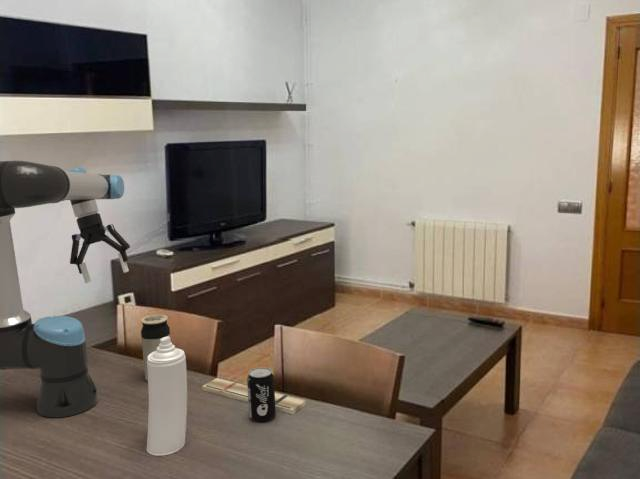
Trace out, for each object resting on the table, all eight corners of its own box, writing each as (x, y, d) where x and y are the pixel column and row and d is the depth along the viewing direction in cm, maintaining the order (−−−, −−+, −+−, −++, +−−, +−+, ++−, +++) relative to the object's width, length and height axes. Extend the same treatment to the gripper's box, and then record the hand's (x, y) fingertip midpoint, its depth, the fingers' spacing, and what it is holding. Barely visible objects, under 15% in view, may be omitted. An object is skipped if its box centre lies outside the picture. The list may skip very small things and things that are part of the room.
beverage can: (281, 416, 154) (279, 370, 152) (261, 426, 149) (259, 379, 147) (263, 408, 159) (261, 364, 156) (243, 417, 154) (241, 372, 151)
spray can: (143, 434, 147) (134, 335, 142) (188, 425, 151) (180, 328, 146) (148, 459, 136) (138, 352, 131) (196, 448, 140) (188, 344, 135)
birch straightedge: (292, 414, 155) (292, 409, 154) (202, 390, 170) (202, 385, 170) (305, 404, 160) (305, 400, 159) (216, 381, 175) (216, 377, 175)
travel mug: (139, 378, 179) (134, 319, 175) (162, 369, 185) (157, 312, 181) (156, 385, 174) (150, 325, 170) (179, 376, 180) (174, 317, 176)
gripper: (127, 204, 204) (146, 265, 206) (58, 224, 207) (77, 284, 209) (118, 206, 197) (138, 269, 199) (46, 226, 199) (67, 288, 202)
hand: (107, 277), depth 204 cm, fingers open, 13 cm apart
